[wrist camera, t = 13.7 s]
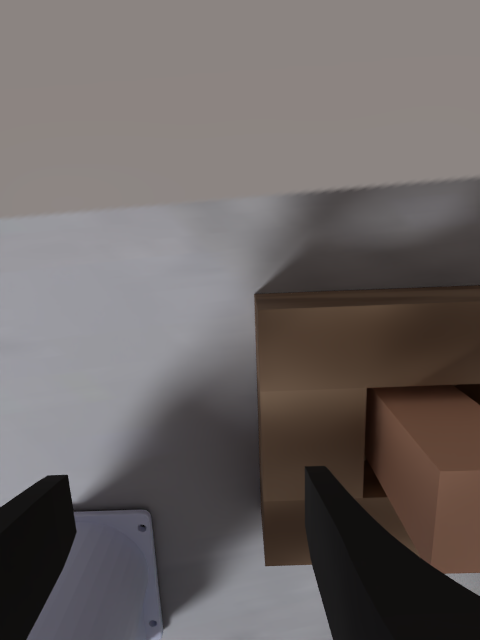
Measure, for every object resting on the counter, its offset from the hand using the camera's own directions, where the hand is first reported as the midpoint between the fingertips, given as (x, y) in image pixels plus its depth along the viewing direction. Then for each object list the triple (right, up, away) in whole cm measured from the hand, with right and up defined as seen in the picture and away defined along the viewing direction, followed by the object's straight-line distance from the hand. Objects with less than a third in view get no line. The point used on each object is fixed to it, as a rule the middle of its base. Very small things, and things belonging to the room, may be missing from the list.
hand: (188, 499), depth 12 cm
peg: (+10, +1, +9) cm, 14 cm away
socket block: (+10, +1, +10) cm, 14 cm away
